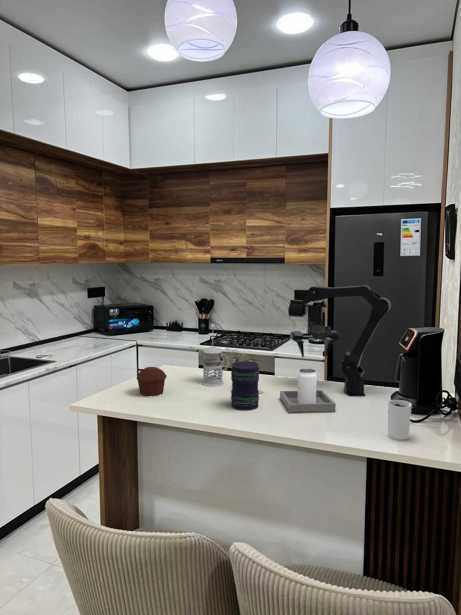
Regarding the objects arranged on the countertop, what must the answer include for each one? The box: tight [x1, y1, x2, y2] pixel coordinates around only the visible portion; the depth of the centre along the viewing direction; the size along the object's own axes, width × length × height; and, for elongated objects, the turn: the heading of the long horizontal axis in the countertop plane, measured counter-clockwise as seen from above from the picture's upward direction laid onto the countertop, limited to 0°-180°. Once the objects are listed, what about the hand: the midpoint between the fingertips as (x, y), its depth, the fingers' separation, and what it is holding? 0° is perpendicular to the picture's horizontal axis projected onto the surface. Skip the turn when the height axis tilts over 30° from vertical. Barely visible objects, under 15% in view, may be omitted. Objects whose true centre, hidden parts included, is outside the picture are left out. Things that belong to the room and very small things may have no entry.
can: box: [297, 368, 317, 404], centre depth 165 cm, size 6×6×12 cm
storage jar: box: [230, 361, 260, 411], centre depth 163 cm, size 10×10×15 cm
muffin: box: [136, 366, 168, 397], centre depth 179 cm, size 12×11×10 cm
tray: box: [279, 389, 337, 414], centre depth 165 cm, size 16×16×3 cm
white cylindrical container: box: [387, 399, 412, 441], centre depth 137 cm, size 7×7×10 cm
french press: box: [200, 323, 230, 388], centre depth 192 cm, size 10×12×25 cm
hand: (314, 356), depth 184 cm, fingers open, 9 cm apart
